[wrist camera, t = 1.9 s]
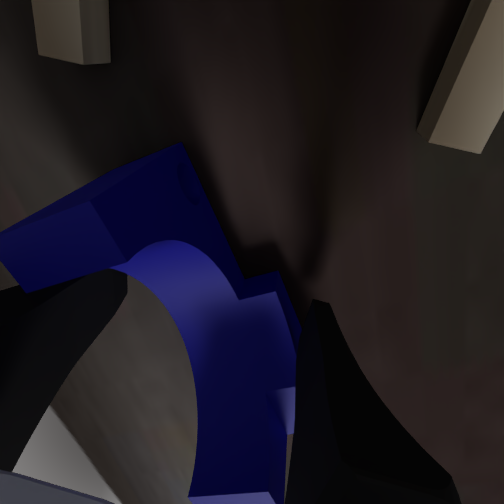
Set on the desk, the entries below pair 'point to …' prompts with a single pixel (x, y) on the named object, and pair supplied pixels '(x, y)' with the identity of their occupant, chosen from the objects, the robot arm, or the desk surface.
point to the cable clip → (184, 309)
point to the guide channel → (437, 110)
